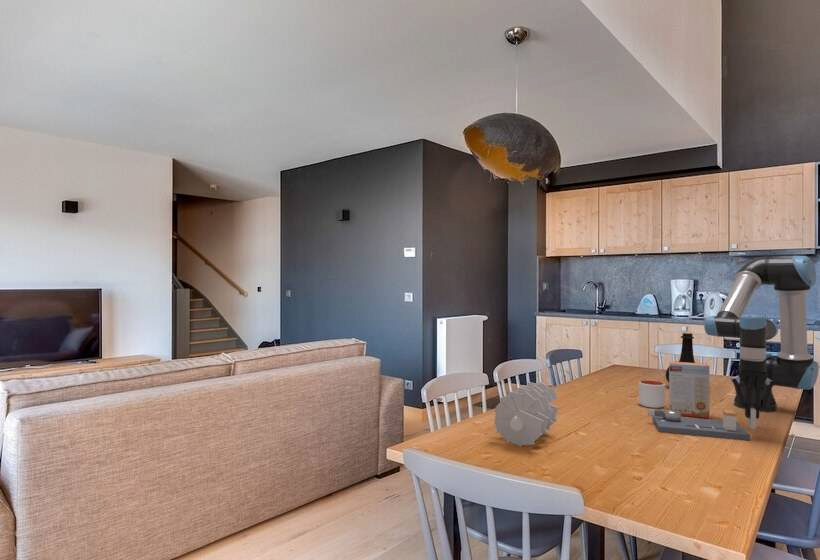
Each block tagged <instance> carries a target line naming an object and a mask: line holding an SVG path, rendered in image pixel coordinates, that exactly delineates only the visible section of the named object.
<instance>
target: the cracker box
mask: <svg viewBox="0 0 820 560" xmlns="http://www.w3.org/2000/svg"><path fill="white" fill-rule="evenodd" d="M668 364H669V365H668V367H669V383H668V400H669V401H668V409H673V410H678V411H680V412H681V417H690V418H691V417H692V418H699V419H710V365H709V364H708V363H698V362H697V363H696V362H695V363H687V362H679V361H669V362H668Z"/></svg>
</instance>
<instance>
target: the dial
mask: <svg viewBox="0 0 820 560" xmlns="http://www.w3.org/2000/svg"><path fill="white" fill-rule="evenodd" d="M647 415H648V417H652V416H659V417H663V419H665V420H668V421H675V422H678V421H681V417H682V416H681V412H680V411H678V410H673V409H669V408H665V409H662V410H660V409H653V408H648V410H647Z"/></svg>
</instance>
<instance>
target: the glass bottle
mask: <svg viewBox="0 0 820 560" xmlns="http://www.w3.org/2000/svg"><path fill="white" fill-rule="evenodd" d="M680 338H681V339H682V343H681V352H680V356H679V359H678V362H687V363H696V362H695V358H694V357H695V356H694V345H693V344H694V343H693V339H695V337H694V336H693V333H691V332H690V333H689V332H683V333H682V335H681V336H680ZM665 378H666V381H667V383H668V384H669V366H668V367H667V369H666V371H665Z"/></svg>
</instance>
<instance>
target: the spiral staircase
mask: <svg viewBox="0 0 820 560" xmlns="http://www.w3.org/2000/svg"><path fill="white" fill-rule="evenodd" d="M558 399H559V396H558V394H557V392H556V390H555V388H554V387H551V388H550V387H548V386H547V385H546V384H545V383H544V382H542V381H540V382H539V383H535V382H531V381H527V384H526V385H520V387H517V389H516V390H513V391H512V390H511V391H510V392H509V391H508V392H507V394H506V395H505V396H502V397H499V401H500V402H498V404H497V405H496V406H495V408H494V409H493V411H494V413H495V414H494V415H495V416H494V423H493V424H494V425H495V427H496V432H497V433H499V434H500V435H501V437H502V438H503V439H504V440H505V441H506V443H507V444H508V443H511V444H514V445H516V446H518V447H520V448H522V447H523V446H529V445H530V446H533V445H535V441H538V440H539V438H540V437H541V436H542V435H546V434H548V431H550V430H551V426H552V425H553V424H555V423H556V422H557V421H558V418H557V417H556V416H557V414H558V410H559V407H558V406H556V405H553V404H551V402H554V401H555V400H558Z"/></svg>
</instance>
